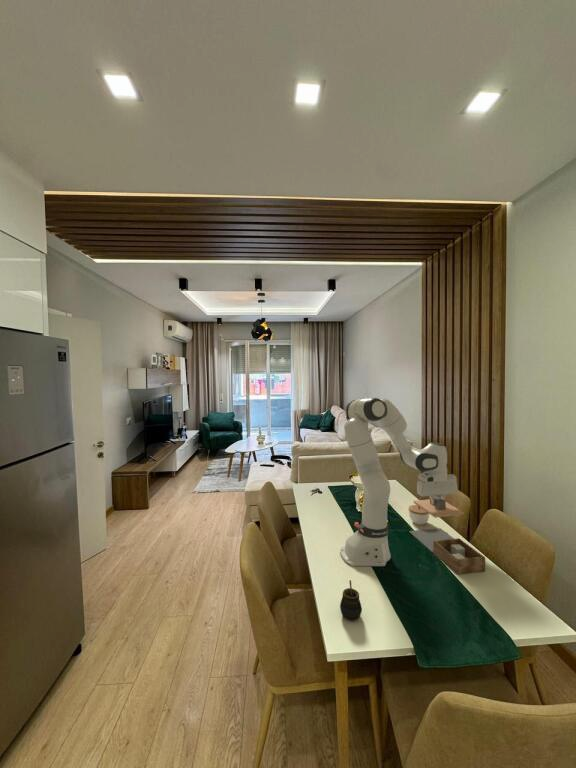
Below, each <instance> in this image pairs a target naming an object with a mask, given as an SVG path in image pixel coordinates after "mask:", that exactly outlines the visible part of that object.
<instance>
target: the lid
mask: <svg viewBox="0 0 576 768" xmlns="http://www.w3.org/2000/svg"><path fill="white" fill-rule="evenodd" d="M433 499H434V500H436V504H432V503H431V499H430V498H428V499H419V500H418V499H417V500H413V504H414V505H418V506H419V507H421V508H422V509H423V510H425V511H426V512H428V513H429V516H430V515H431V516H432V517H434V518H435V519H436V518H444V517H446V518H447V517H453V516H454V517H455V516H462V515H463V516H464V515H465V513H464V511H462V510H460V509H459V508H457V507H456V506H454V505H452V504H451V503H449V502H447V501H445V499H444V500H443V499H441V497H439V495H434V497H433Z"/></svg>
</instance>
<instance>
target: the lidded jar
mask: <svg viewBox="0 0 576 768" xmlns="http://www.w3.org/2000/svg"><path fill="white" fill-rule="evenodd" d="M408 514H409V519H410V520H411V522H413V523H414V525H416V526H417V525H418V526H423V525H426V523H428V521H429V518H430V514H429V513H428V512H426V511H425V510H423V509H422V508H421V507H419V506H418V505H416V504H411V505H409V506H408Z"/></svg>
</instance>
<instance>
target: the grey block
mask: <svg viewBox="0 0 576 768" xmlns="http://www.w3.org/2000/svg"><path fill="white" fill-rule="evenodd" d="M458 553H460V554H461V555H462V556H463V557H465V548H463V547H462V546H461V545H459V544H454V545H451V554H458Z"/></svg>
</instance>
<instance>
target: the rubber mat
mask: <svg viewBox="0 0 576 768" xmlns="http://www.w3.org/2000/svg"><path fill="white" fill-rule="evenodd" d="M409 534H411V535H412V536H413V537H414V538H416V539H417V541H418V542H420V543H421V544H422V545H423V546H424V547H425V548H427V550H429V551H430V552H431V553H433V550H434V541H437V540H447V539H455V537H453V536H452V535H450V534H449V533H448V532H446V531H445V530H444V529H442V528H440V527H439V528H430V529H429V528H428V529H417V530H410V531H409Z"/></svg>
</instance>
